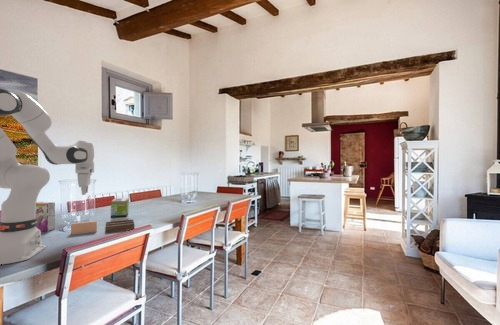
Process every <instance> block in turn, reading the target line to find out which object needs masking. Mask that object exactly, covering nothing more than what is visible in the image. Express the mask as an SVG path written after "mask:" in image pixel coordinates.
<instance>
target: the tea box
mask: <svg viewBox="0 0 500 325" xmlns="http://www.w3.org/2000/svg"><path fill="white" fill-rule="evenodd" d="M129 201H130V199H129V198H128V197H125V198H124V197H121V198H113V199H112V200H111V202H110V221H109V222H112V221H122V220H129V203H130V202H129Z"/></svg>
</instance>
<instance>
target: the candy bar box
mask: <svg viewBox="0 0 500 325" xmlns="http://www.w3.org/2000/svg"><path fill="white" fill-rule="evenodd" d="M55 206H56V203H55V201H52V202H51V201H36V215H35V218H37V226H36V227H37V228H38V229H39V230H41V232H51V231H53V230H55V226H56V222H55V221H56V218H55V216H56V215H55V214H56V210H55V209H56V207H55Z"/></svg>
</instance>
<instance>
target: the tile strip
mask: <svg viewBox="0 0 500 325" xmlns="http://www.w3.org/2000/svg"><path fill="white" fill-rule="evenodd" d="M89 232H90V233H96V232H98V221H97V220H91V221H89V220H88V221H80V222H79V221H77V222H72V223H70V234H71V235H80V234H88V233H89ZM90 233H89V234H90Z"/></svg>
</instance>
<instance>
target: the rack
mask: <svg viewBox="0 0 500 325" xmlns="http://www.w3.org/2000/svg"><path fill="white" fill-rule="evenodd" d="M127 229H129V230H127ZM131 229H133V230H135V222H134V219H127V220H122V221H112V222H110V221H106V222H105V227H104V230H105V231H104V233H106V232H107V233H114V232H115V231H116V232H122V231H121V230H125V231H131ZM107 233H106V234H107Z"/></svg>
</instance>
